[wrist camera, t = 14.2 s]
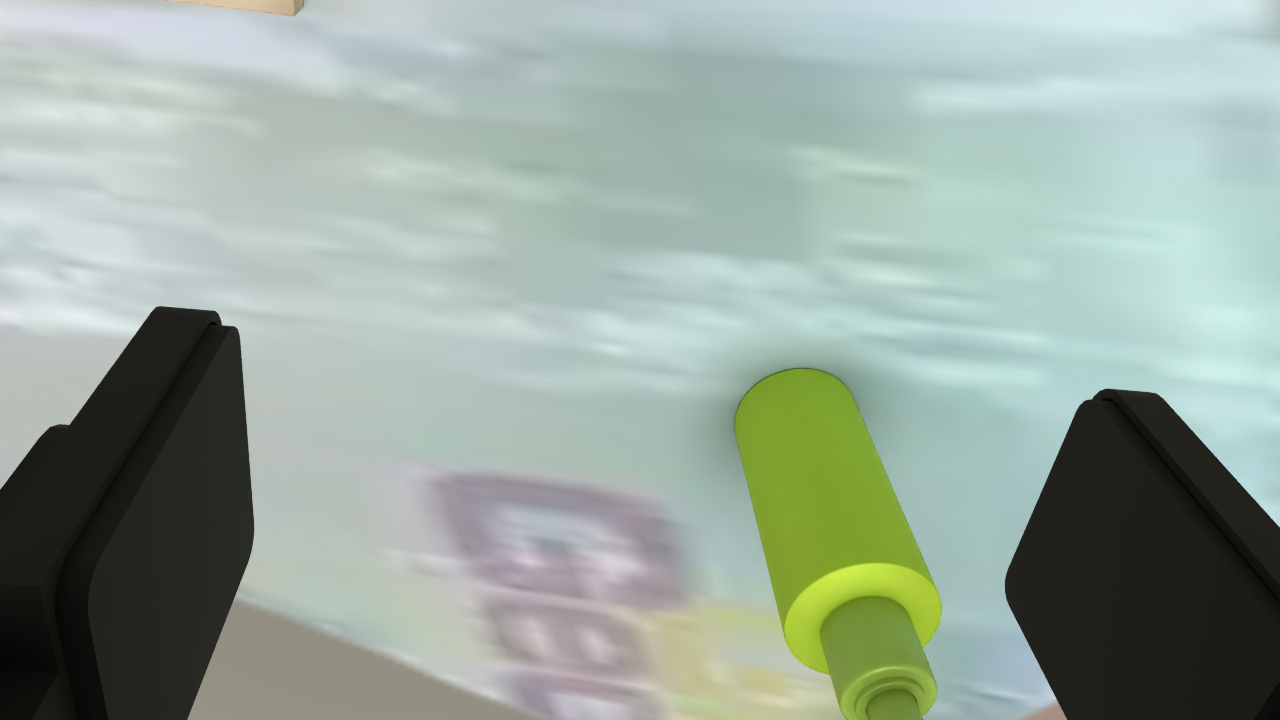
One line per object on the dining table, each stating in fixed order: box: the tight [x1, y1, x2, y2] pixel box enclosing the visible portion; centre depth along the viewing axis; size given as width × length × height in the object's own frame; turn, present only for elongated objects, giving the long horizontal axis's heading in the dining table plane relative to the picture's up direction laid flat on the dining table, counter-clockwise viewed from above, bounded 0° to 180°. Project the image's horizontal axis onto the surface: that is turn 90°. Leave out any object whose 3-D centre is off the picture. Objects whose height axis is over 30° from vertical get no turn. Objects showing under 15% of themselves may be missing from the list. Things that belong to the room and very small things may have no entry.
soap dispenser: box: [734, 369, 942, 720], centre depth 40 cm, size 6×7×20 cm
